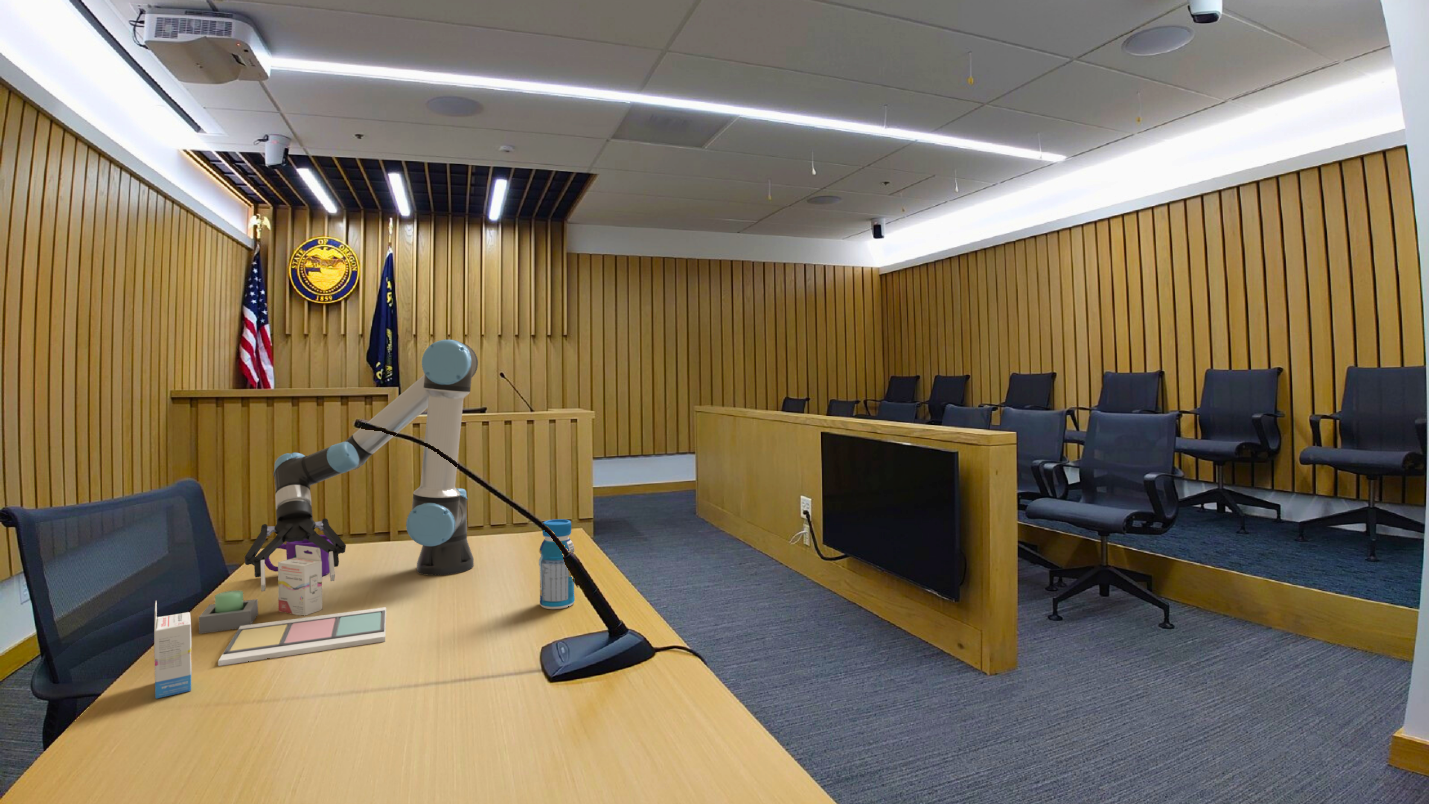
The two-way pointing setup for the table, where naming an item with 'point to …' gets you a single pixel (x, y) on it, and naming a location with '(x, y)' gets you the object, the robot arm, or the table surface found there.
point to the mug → (292, 552)
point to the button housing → (227, 618)
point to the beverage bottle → (555, 567)
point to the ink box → (172, 654)
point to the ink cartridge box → (300, 582)
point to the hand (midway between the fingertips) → (298, 583)
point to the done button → (229, 601)
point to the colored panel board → (305, 635)
